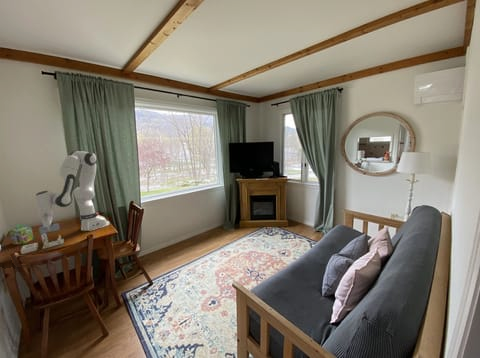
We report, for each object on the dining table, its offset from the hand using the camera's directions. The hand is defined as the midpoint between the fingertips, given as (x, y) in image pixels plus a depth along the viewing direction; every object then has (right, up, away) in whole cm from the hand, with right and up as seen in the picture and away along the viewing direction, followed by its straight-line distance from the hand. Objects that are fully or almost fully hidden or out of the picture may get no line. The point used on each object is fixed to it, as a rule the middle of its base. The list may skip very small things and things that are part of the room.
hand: (49, 228), depth 161 cm
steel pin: (-8, -13, +5) cm, 16 cm away
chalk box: (-29, -13, +9) cm, 33 cm away
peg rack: (0, -13, +3) cm, 14 cm away
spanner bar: (0, -2, 0) cm, 2 cm away
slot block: (-11, -15, -5) cm, 19 cm away
